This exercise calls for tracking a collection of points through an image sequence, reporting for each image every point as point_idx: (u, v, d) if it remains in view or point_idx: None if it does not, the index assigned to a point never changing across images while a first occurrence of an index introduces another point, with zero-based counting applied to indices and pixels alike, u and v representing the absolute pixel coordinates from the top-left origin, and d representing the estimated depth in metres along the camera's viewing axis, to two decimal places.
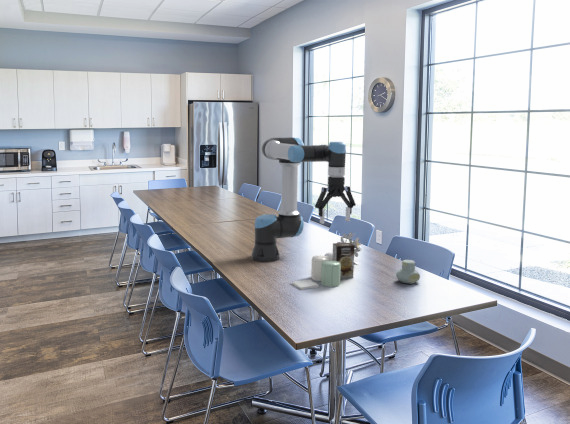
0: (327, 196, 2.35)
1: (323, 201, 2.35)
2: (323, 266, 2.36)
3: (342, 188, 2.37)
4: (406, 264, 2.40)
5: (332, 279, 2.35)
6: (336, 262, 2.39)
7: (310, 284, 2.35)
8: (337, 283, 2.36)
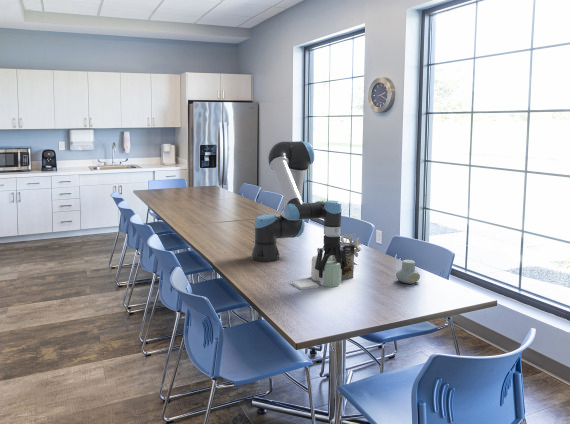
0: (324, 256, 2.36)
1: (322, 262, 2.36)
2: None
3: (338, 246, 2.37)
4: (406, 264, 2.40)
5: (332, 279, 2.35)
6: (336, 262, 2.39)
7: (310, 284, 2.35)
8: (337, 283, 2.36)
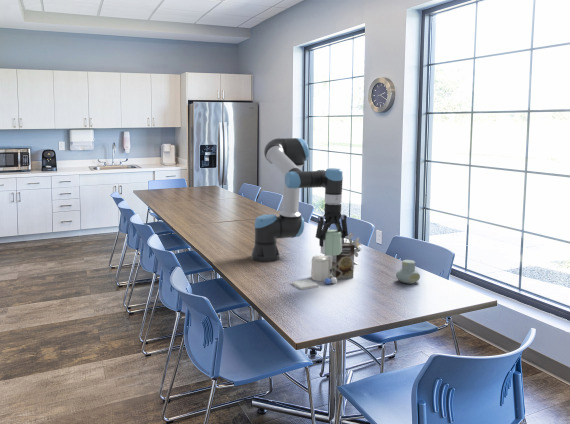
0: (325, 225, 2.34)
1: (322, 230, 2.34)
2: None
3: (339, 215, 2.34)
4: (406, 264, 2.40)
5: (332, 248, 2.32)
6: (337, 231, 2.36)
7: (310, 284, 2.35)
8: (338, 252, 2.34)
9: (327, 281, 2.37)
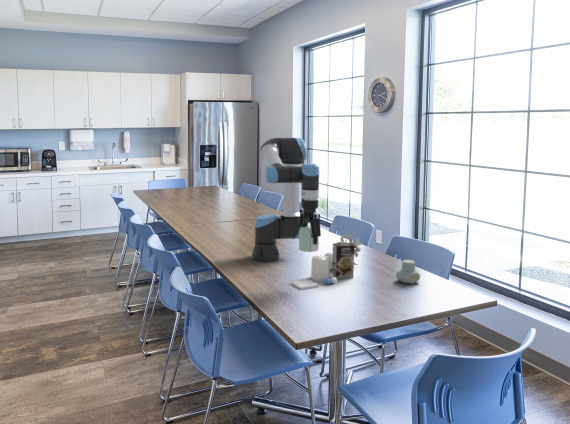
0: None
1: None
2: None
3: (310, 212, 2.28)
4: (406, 264, 2.40)
5: (299, 242, 2.33)
6: None
7: (310, 284, 2.35)
8: (302, 248, 2.31)
9: (327, 281, 2.37)
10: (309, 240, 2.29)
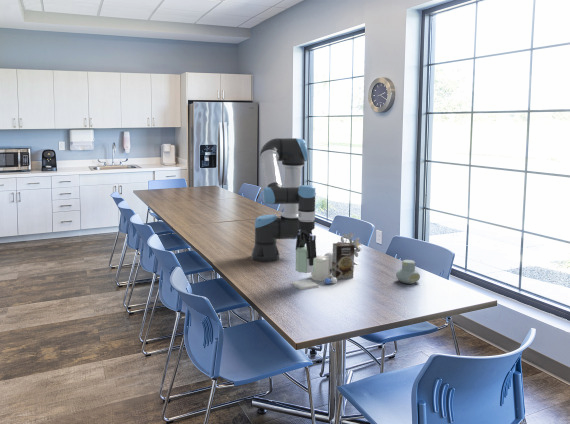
0: None
1: None
2: None
3: (306, 233, 2.29)
4: (406, 264, 2.40)
5: None
6: None
7: (310, 284, 2.35)
8: (298, 269, 2.32)
9: (327, 281, 2.37)
10: (305, 261, 2.30)
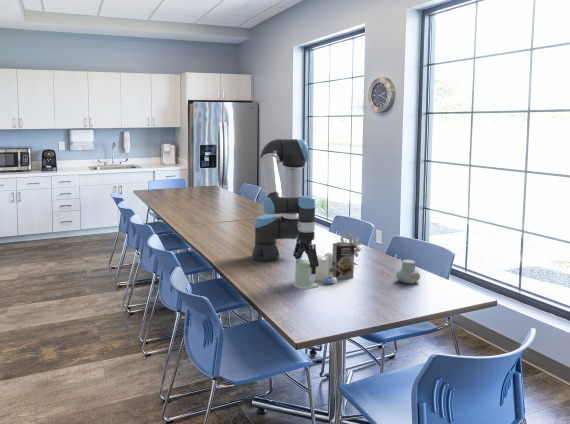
0: None
1: None
2: None
3: (306, 244, 2.30)
4: (406, 264, 2.40)
5: (295, 276, 2.36)
6: (307, 263, 2.32)
7: None
8: (298, 282, 2.34)
9: (327, 281, 2.37)
10: (305, 275, 2.32)
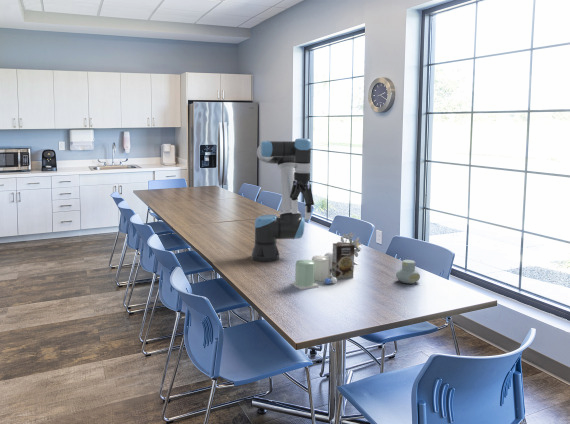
0: None
1: None
2: None
3: (302, 184, 2.42)
4: (406, 264, 2.40)
5: (295, 276, 2.36)
6: (307, 263, 2.32)
7: None
8: (298, 282, 2.34)
9: (327, 281, 2.37)
10: (305, 275, 2.32)
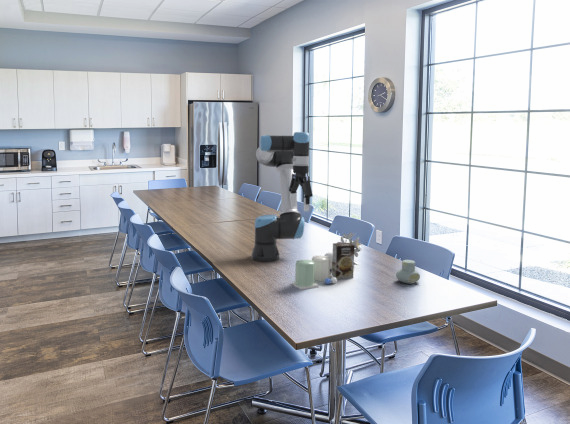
0: None
1: None
2: None
3: (301, 177, 2.46)
4: (406, 264, 2.40)
5: (295, 276, 2.36)
6: (307, 263, 2.32)
7: None
8: (298, 282, 2.34)
9: (327, 281, 2.37)
10: (305, 275, 2.32)
